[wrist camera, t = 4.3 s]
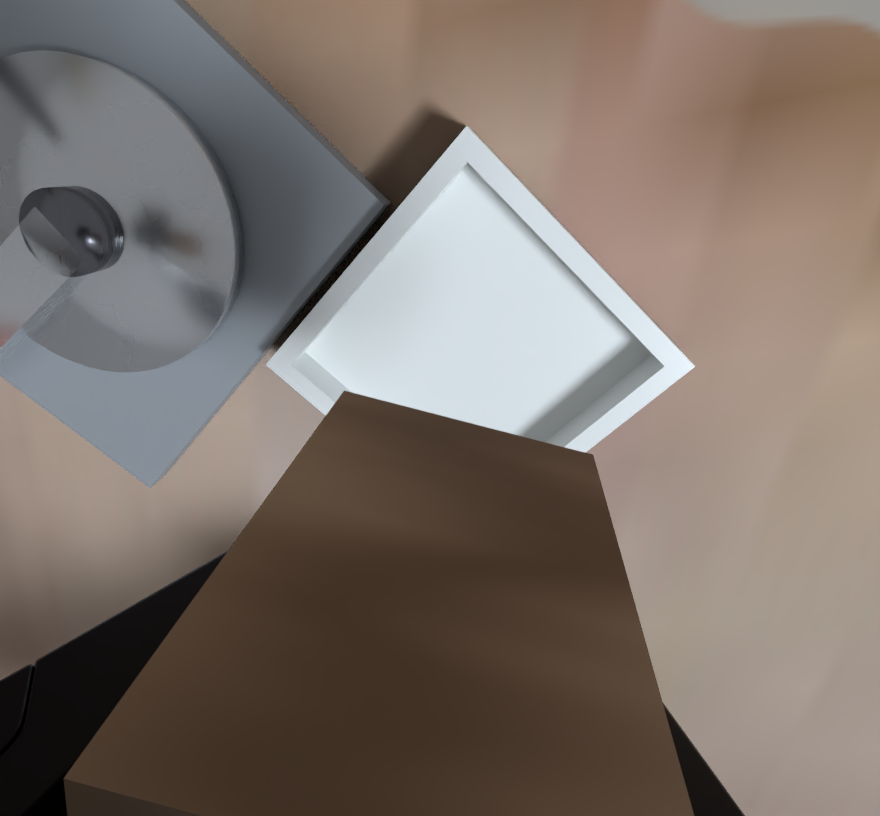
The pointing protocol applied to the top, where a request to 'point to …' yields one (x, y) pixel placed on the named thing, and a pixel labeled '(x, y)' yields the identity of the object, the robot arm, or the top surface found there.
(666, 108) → the top surface
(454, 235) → the tray
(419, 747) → the block
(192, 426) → the crank plate
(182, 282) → the crank
